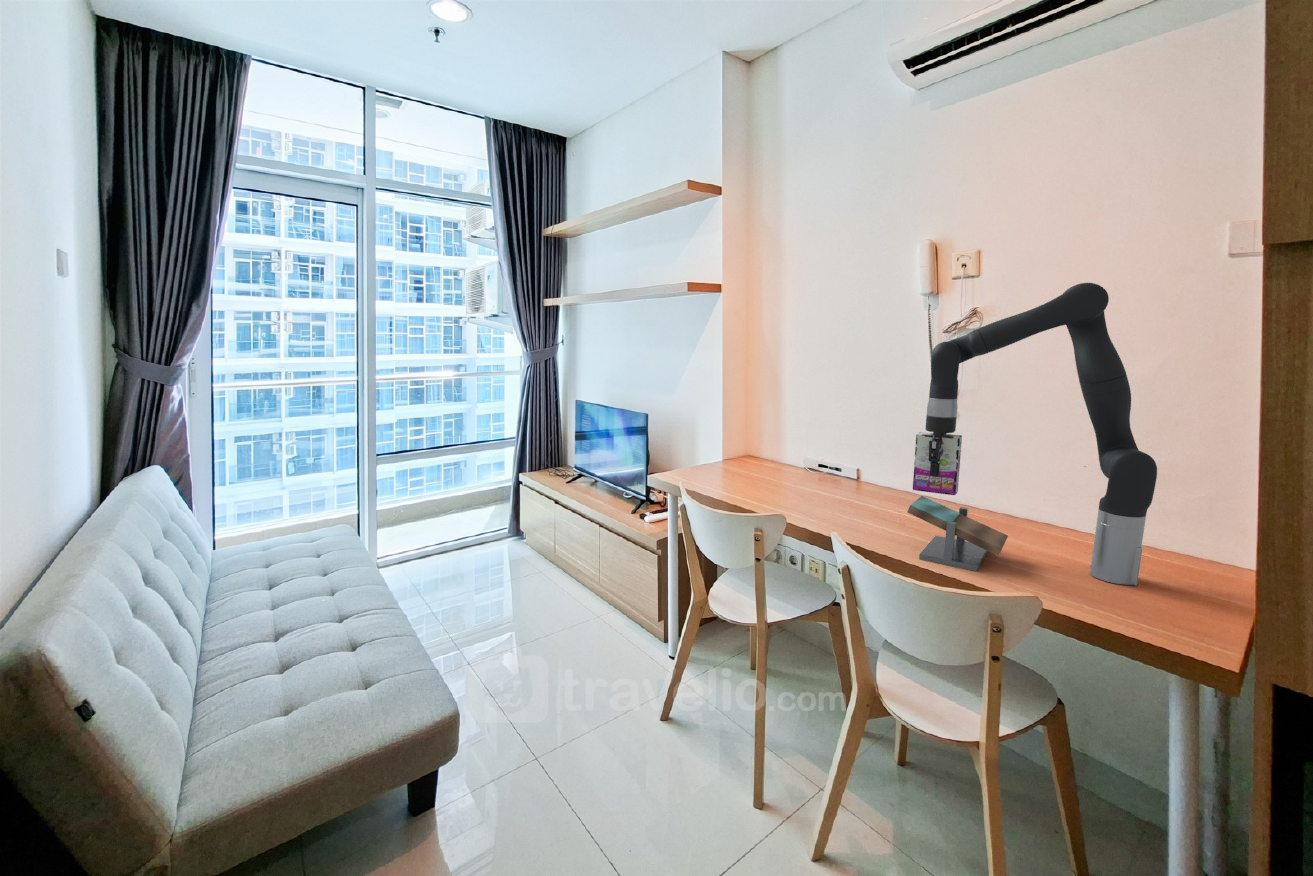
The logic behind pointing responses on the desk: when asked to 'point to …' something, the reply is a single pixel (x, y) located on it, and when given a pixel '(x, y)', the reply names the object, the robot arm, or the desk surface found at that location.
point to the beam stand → (954, 549)
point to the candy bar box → (948, 465)
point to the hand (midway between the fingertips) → (936, 474)
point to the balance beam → (959, 524)
